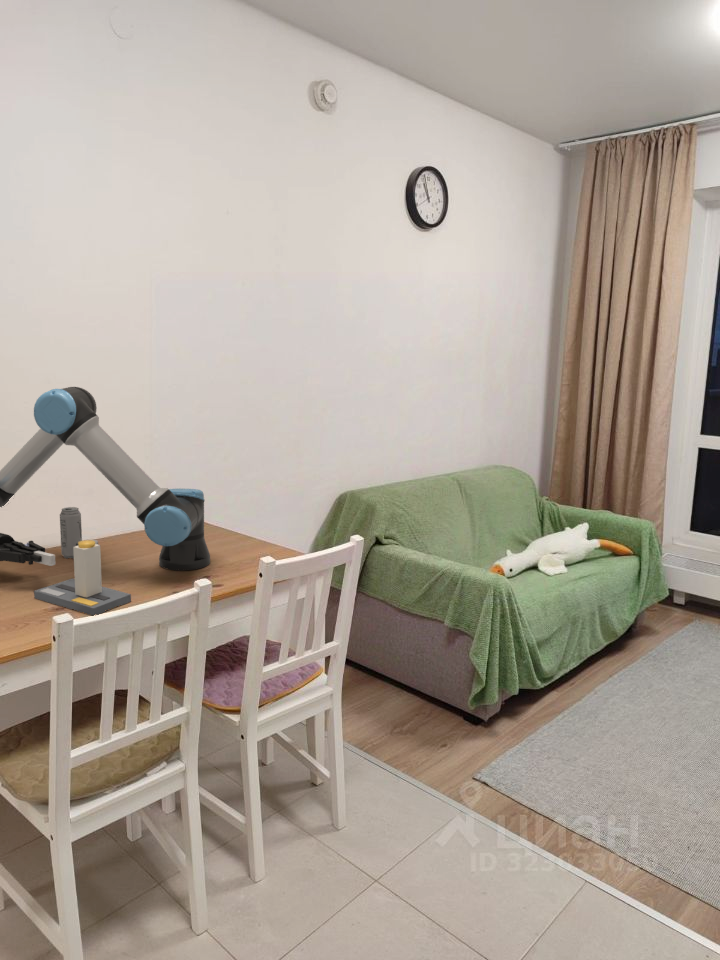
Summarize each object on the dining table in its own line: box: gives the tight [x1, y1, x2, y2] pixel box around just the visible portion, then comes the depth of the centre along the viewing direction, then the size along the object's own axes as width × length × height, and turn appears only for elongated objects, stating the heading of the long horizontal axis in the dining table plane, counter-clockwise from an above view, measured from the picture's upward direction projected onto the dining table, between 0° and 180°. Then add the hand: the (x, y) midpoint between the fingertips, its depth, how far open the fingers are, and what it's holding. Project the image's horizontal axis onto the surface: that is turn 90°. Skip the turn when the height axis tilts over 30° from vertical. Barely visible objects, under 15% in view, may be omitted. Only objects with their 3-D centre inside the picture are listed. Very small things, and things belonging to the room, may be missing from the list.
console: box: [33, 578, 132, 616], centre depth 187 cm, size 22×12×2 cm, turn 61°
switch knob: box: [73, 539, 103, 598], centre depth 184 cm, size 4×5×14 cm
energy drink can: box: [59, 506, 83, 559], centre depth 221 cm, size 6×6×15 cm
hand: (52, 560), depth 190 cm, fingers closed
